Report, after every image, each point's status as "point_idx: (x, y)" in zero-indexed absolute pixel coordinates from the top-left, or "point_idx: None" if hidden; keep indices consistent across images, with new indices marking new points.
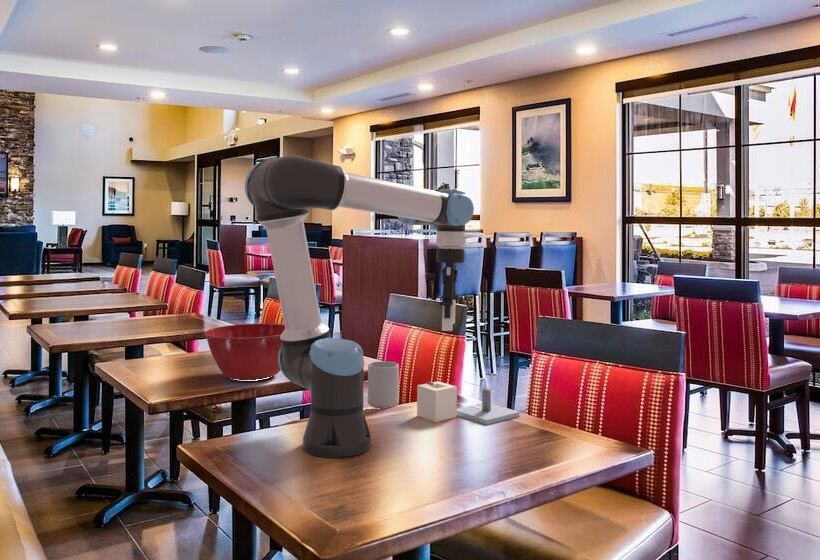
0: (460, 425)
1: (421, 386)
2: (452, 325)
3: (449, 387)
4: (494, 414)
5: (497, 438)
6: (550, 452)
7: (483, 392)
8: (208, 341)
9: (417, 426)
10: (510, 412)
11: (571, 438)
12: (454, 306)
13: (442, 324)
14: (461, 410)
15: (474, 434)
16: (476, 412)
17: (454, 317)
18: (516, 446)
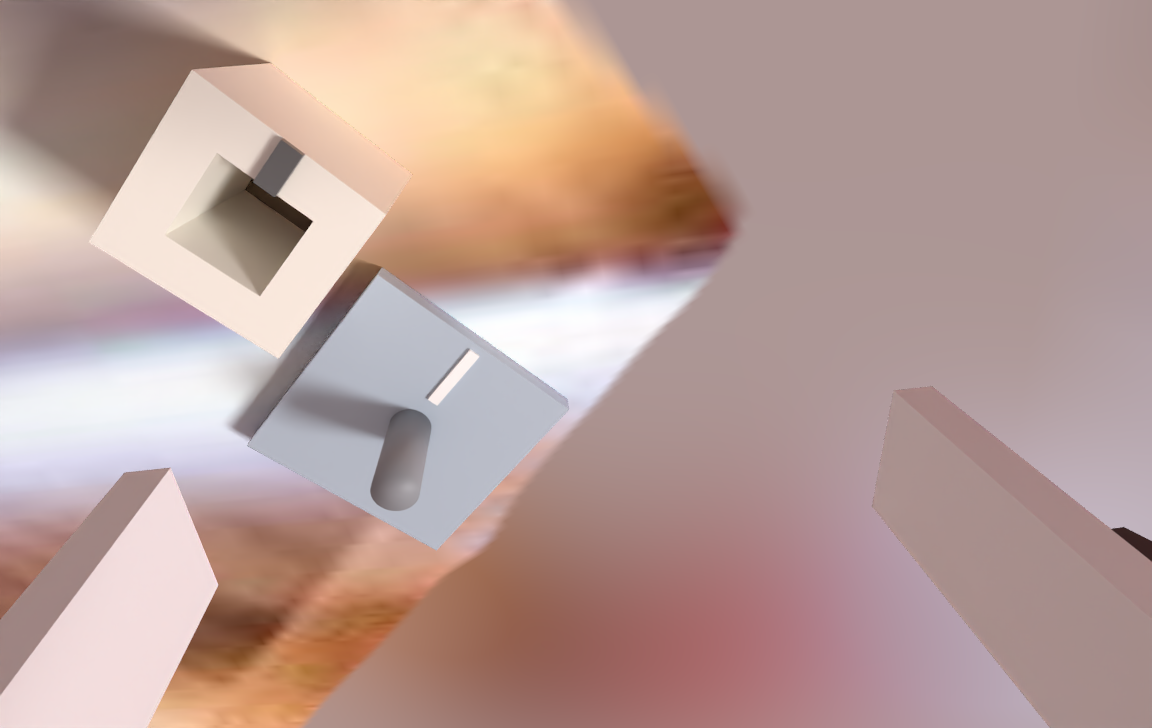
0: (194, 326)
1: (169, 112)
2: (174, 645)
3: (233, 317)
4: (355, 466)
5: (78, 492)
6: None
7: (377, 470)
8: None
9: (61, 104)
10: (413, 521)
11: (216, 697)
12: (1051, 712)
13: (77, 542)
14: (373, 316)
15: (82, 402)
16: (360, 389)
17: (918, 559)
18: (13, 561)
